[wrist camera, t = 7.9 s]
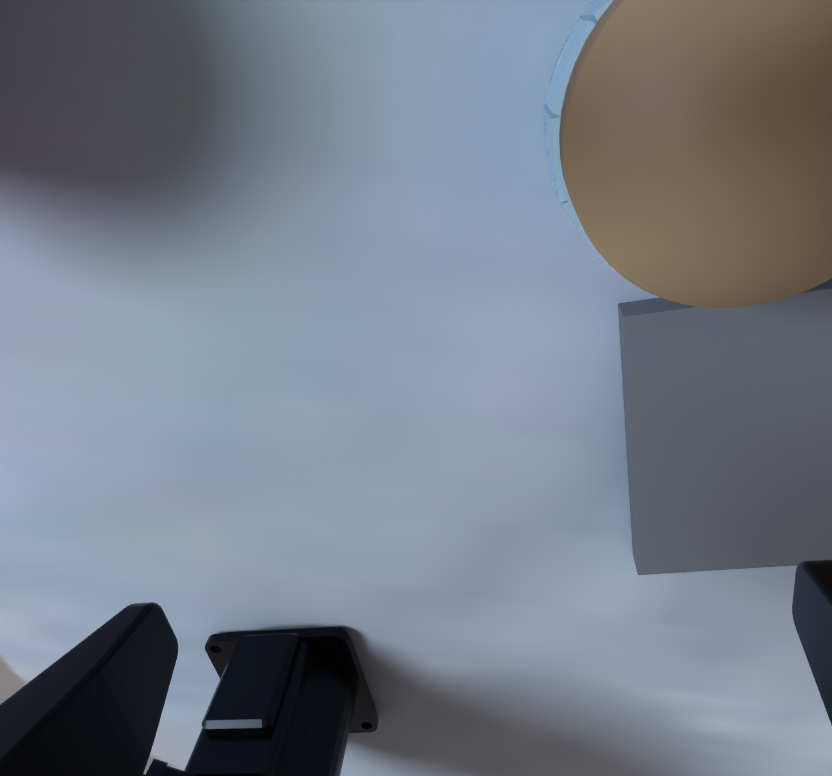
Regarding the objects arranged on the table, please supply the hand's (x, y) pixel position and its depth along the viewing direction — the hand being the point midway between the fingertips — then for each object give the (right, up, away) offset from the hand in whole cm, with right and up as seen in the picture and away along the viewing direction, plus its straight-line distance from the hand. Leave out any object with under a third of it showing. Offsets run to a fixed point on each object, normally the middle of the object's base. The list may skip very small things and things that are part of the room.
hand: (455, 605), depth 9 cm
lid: (+6, +9, +4) cm, 11 cm away
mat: (+11, +2, +11) cm, 16 cm away
